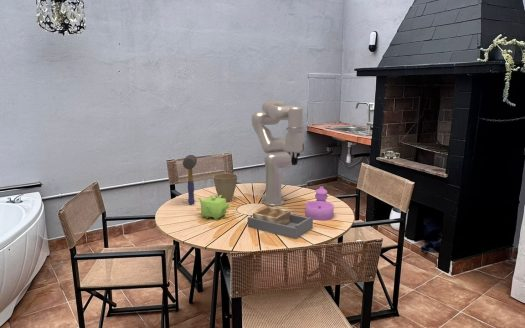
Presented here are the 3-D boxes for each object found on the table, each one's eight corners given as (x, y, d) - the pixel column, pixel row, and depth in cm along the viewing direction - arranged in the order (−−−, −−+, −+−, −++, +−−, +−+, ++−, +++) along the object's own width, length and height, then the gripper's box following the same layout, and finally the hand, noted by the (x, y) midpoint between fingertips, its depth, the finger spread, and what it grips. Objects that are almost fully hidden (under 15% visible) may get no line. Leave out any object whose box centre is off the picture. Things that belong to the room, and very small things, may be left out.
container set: (332, 221, 200) (333, 197, 197) (304, 219, 203) (304, 195, 200) (334, 207, 224) (335, 186, 221) (308, 205, 227) (309, 184, 224)
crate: (252, 224, 191) (252, 213, 190) (267, 216, 203) (267, 206, 202) (276, 230, 184) (276, 218, 182) (290, 221, 195) (290, 211, 194)
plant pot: (209, 200, 237) (208, 175, 234) (228, 195, 247) (227, 172, 244) (223, 205, 227) (222, 179, 224) (242, 200, 236) (242, 176, 233)
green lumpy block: (197, 214, 210) (196, 195, 208) (221, 211, 216) (220, 192, 214) (205, 222, 197) (205, 202, 195) (230, 218, 203) (230, 198, 201)
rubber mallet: (186, 201, 235) (184, 153, 229) (198, 201, 235) (197, 153, 229) (183, 207, 223) (181, 157, 217) (196, 207, 223) (194, 157, 217)
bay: (247, 226, 191) (247, 215, 190) (266, 217, 205) (266, 207, 204) (295, 238, 176) (296, 226, 175) (312, 228, 190) (312, 216, 189)
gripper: (279, 130, 200) (278, 164, 203) (304, 132, 191) (303, 167, 195) (286, 129, 206) (286, 162, 209) (311, 130, 197) (310, 165, 201)
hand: (294, 164), depth 202 cm, fingers closed
